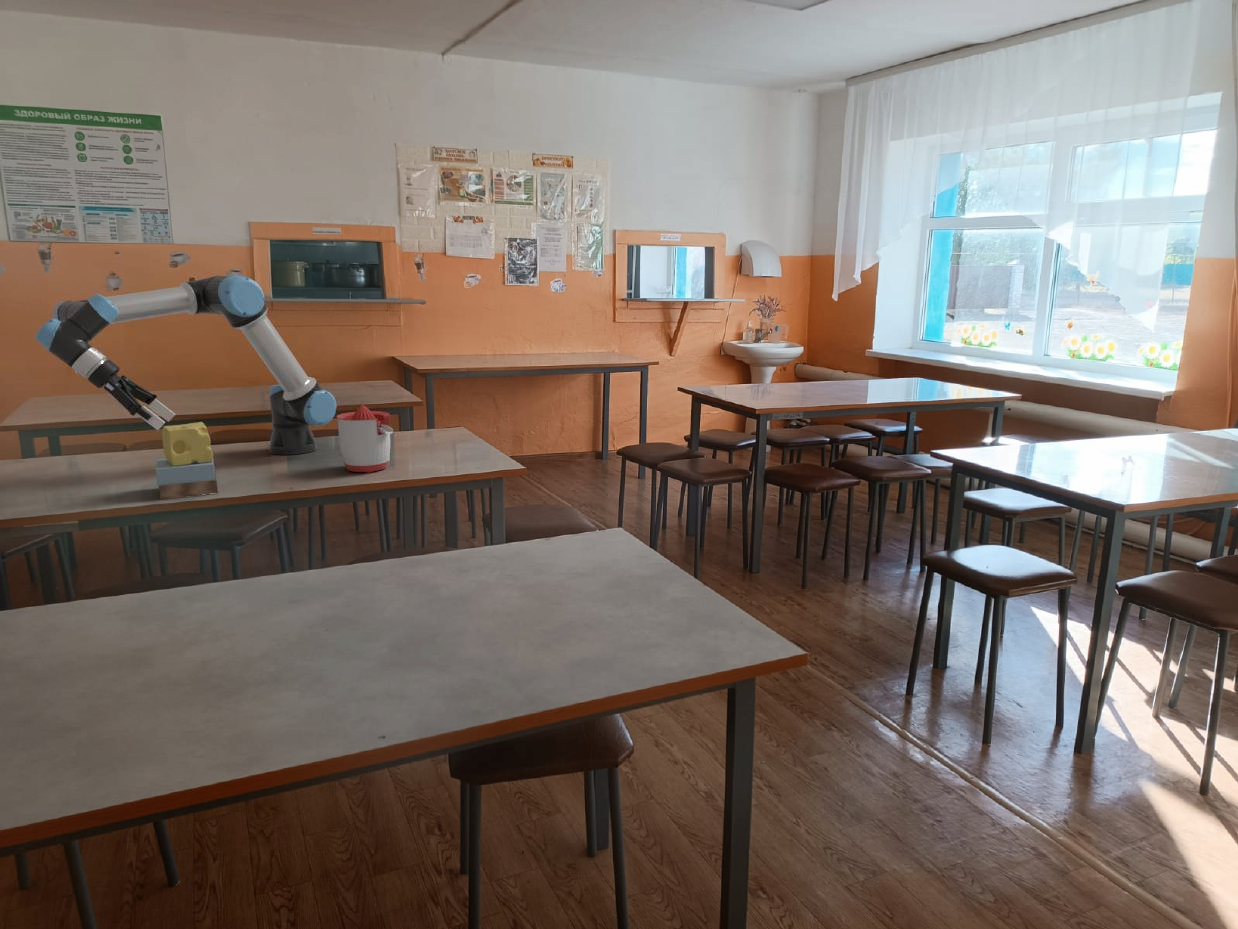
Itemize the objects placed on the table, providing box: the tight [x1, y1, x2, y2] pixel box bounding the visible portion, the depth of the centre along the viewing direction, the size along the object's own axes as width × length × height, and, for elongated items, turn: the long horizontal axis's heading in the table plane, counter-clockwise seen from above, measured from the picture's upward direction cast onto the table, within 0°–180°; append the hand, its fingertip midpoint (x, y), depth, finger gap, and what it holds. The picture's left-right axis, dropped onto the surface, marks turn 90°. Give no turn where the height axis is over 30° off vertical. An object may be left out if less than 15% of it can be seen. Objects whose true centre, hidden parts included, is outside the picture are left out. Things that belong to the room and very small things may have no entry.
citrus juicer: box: [336, 404, 394, 474], centre depth 260 cm, size 16×17×20 cm
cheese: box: [161, 421, 214, 466], centre depth 234 cm, size 10×11×10 cm
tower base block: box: [158, 469, 219, 501], centre depth 236 cm, size 14×14×4 cm
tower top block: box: [155, 457, 215, 487], centre depth 235 cm, size 14×14×4 cm
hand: (167, 422), depth 230 cm, fingers open, 13 cm apart
